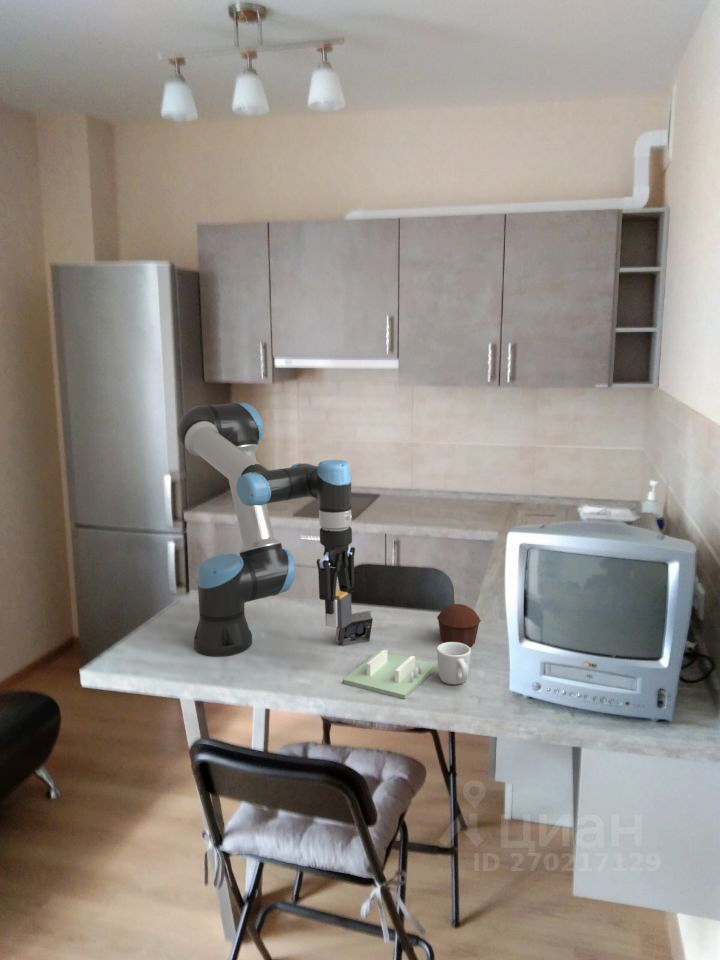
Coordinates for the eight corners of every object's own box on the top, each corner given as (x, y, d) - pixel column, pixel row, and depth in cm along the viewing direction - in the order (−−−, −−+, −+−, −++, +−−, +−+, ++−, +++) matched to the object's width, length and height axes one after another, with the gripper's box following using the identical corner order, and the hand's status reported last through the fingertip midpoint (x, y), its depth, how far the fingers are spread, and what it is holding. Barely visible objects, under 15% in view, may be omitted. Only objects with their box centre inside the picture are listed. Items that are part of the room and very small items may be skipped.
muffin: (428, 638, 202) (429, 602, 200) (462, 630, 207) (463, 596, 205) (453, 654, 192) (454, 617, 190) (488, 646, 197) (489, 610, 195)
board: (343, 683, 177) (343, 667, 176) (378, 654, 192) (378, 640, 191) (404, 699, 169) (405, 682, 168) (436, 667, 185) (436, 652, 184)
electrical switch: (366, 635, 204) (367, 604, 201) (374, 644, 199) (375, 613, 197) (334, 641, 200) (335, 610, 198) (341, 651, 196) (342, 618, 193)
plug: (325, 625, 178) (324, 594, 177) (336, 619, 182) (334, 589, 180) (342, 628, 176) (340, 597, 174) (351, 622, 180) (350, 591, 178)
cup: (480, 690, 173) (481, 658, 171) (448, 695, 171) (449, 662, 169) (461, 670, 183) (462, 639, 182) (431, 674, 181) (431, 643, 179)
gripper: (328, 537, 165) (331, 637, 170) (368, 520, 180) (369, 613, 184) (300, 533, 169) (304, 631, 173) (341, 517, 184) (343, 608, 188)
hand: (338, 622), depth 179 cm, fingers closed on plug, 4 cm apart
